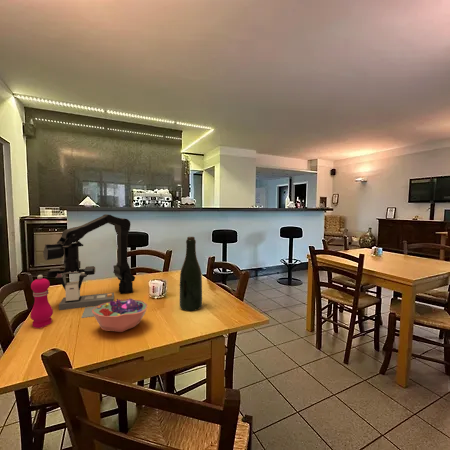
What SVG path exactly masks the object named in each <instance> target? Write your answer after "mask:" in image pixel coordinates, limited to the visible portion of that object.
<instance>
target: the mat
mask: <svg viewBox="0 0 450 450" xmlns="http://www.w3.org/2000/svg"><path fill="white" fill-rule="evenodd" d="M96 307H97V306H92V307H84V310H83V313H82V315H81V319H85V318H93V317H94V318H95V316H94V314H93V313H92V310H93V309H94V308H96Z"/></svg>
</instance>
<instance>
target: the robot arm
mask: <svg viewBox="0 0 450 450" xmlns="http://www.w3.org/2000/svg"><path fill="white" fill-rule="evenodd" d="M107 224H109V225H113V226H114V232H116V235H117V236H116V237H117V263H116V265H113V274H114V276H115V277H116V278H117V279H118V280H119V283H118V292H119V294H121V295H123V294H129V293H131V294H132V293H134V289H133V288H134V287H133V282H135V279H136V276H135V275H133V273H132V272H131V266H130V265H129V262H128V236H129V235H128V234H129V232H130V231H131V221H130V220H129V219H128V218H120V217H117V216H114V215H111V214H107V213H106V214H102V216H99V217H97V218H95V219H93V220H91V221H89V222H87V223H84V224H82V225H79V226H78V225H77V226H74V227H70V228H66V229H65V230H63V231H62V233H61V236H60V238H59V239H58V240H57V242H56V243H51V244H50V243H45V244H44V249H43V252H42V253H43V259H44V260H45V261H50V260H58V259H62V258H63V257H64V258H63V259H64V260H63V268H64V269H62V270H61V269H60V268H51V269H49V270H48V271H47V272H46V279H52V278H53V279H54V278H55V280H58V281H59V282H60V284H61V285H62V287H63V290H65V286H66V284H67V278H66V276H67V275H72V274H73V275H74V274H80V275H79V276H78V282H79V290H80V291H81V287H82V284H83V281H84V279H85V278H87V277H88V276H90V275H92V276H93V275H95V273H96V266H89V265H88V266H85V268H81V265H82V264H81V261H80V253H79V250H80V248H79V247H84V244H83V243H82V242H81V241H80V240H81V239H83V238H84V237H85V236H86V235H87V234H88V233H91V232H93V231H95V230H97V229H99V228H100V227H103V226H105V225H107Z"/></svg>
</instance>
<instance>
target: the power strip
mask: <svg viewBox="0 0 450 450" xmlns="http://www.w3.org/2000/svg"><path fill="white" fill-rule="evenodd" d="M110 301H115V292H107V293H105V292H104V293H96V294H86V295H80V298H79V300H72V301H66V296H64V297H63V298H62V299H61V301H60V302H59V304H58V310H59V311H64V310H72V309H80V308H81V309H82V308H86V307H95V306H99V305H101V304H104V303H108V302H110Z"/></svg>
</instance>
